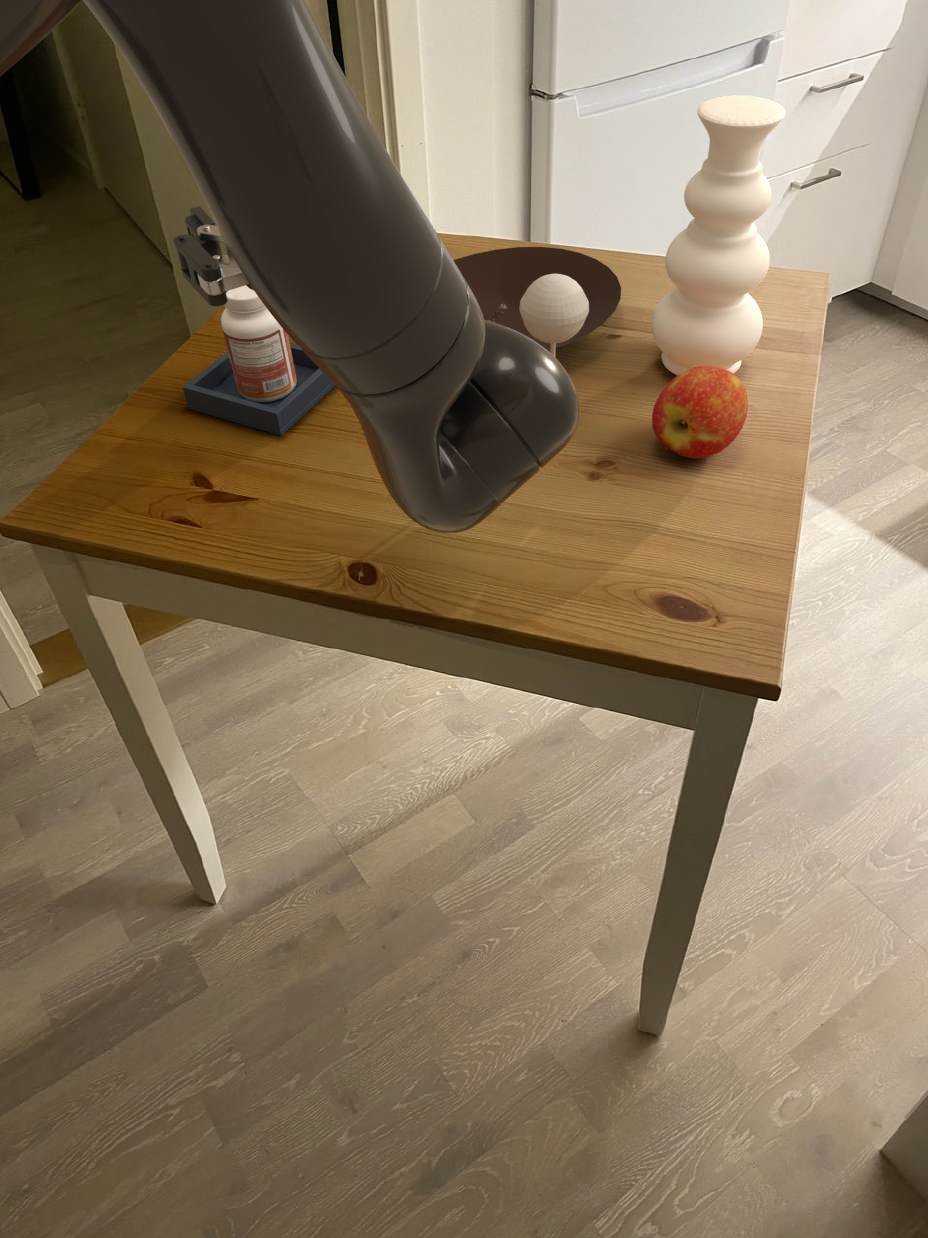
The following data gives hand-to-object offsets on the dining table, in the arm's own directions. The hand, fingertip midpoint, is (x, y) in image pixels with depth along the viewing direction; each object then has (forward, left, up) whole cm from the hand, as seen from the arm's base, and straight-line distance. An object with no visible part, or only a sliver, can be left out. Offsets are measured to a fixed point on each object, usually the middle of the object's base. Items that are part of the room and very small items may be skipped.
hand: (254, 206), depth 67 cm
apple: (+21, -30, -26) cm, 45 cm away
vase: (+35, -26, -26) cm, 51 cm away
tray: (+12, +13, -26) cm, 32 cm away
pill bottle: (+12, +13, -26) cm, 31 cm away
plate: (+35, -2, -26) cm, 44 cm away
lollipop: (+19, -16, -26) cm, 36 cm away
